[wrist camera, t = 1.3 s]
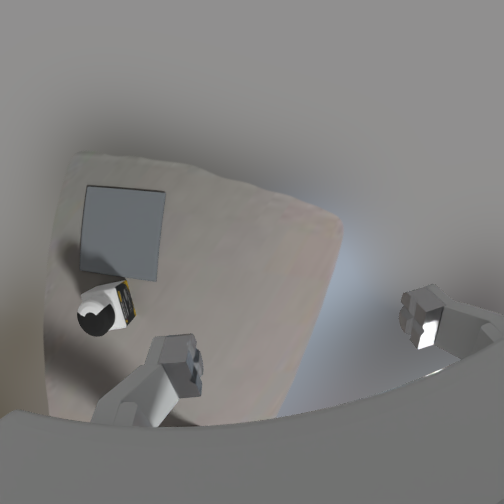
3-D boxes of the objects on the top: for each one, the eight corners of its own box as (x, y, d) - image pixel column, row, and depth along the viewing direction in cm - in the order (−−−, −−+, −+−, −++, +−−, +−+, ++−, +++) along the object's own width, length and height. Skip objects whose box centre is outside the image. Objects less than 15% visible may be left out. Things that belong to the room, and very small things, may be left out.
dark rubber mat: (156, 281, 50) (155, 281, 50) (80, 269, 48) (79, 270, 48) (165, 193, 49) (165, 193, 49) (88, 186, 47) (87, 186, 46)
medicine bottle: (137, 315, 50) (117, 338, 39) (105, 320, 50) (80, 343, 38) (127, 279, 50) (103, 294, 38) (95, 286, 49) (67, 301, 37)
